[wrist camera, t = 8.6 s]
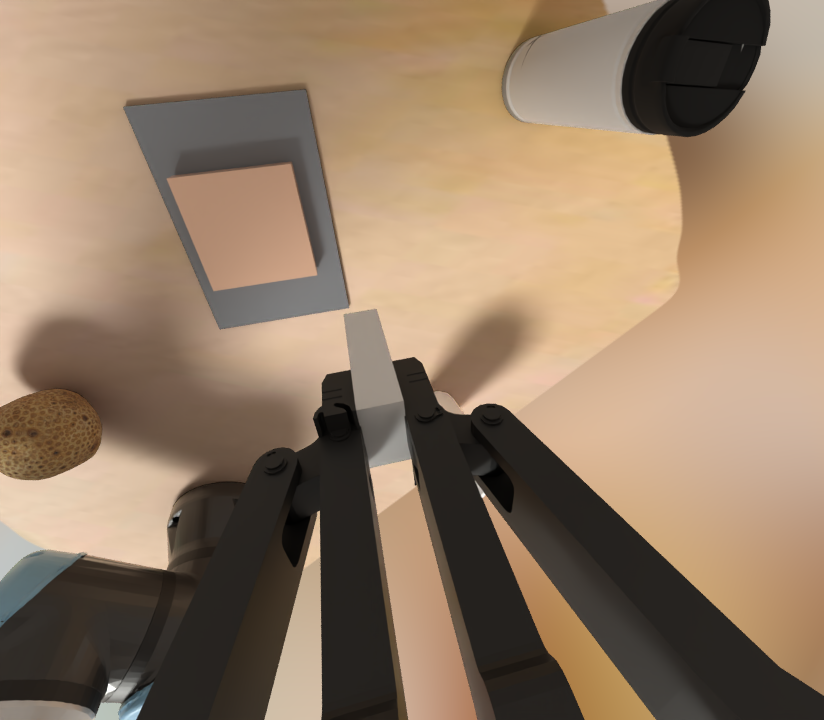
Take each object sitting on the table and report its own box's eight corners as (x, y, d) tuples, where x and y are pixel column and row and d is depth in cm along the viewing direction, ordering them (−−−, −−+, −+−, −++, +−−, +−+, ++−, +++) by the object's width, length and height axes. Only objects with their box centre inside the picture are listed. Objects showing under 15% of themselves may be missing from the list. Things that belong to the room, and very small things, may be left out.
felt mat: (220, 327, 41) (219, 329, 41) (125, 106, 30) (123, 106, 29) (348, 306, 43) (349, 307, 42) (305, 89, 31) (305, 89, 31)
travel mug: (503, 33, 32) (695, -38, 16) (573, 39, 33) (819, -21, 17) (492, 121, 35) (638, 137, 19) (555, 123, 37) (745, 140, 20)
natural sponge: (139, 416, 45) (100, 484, 37) (67, 440, 45) (13, 514, 37) (81, 357, 40) (21, 422, 32) (-1, 384, 40) (-82, 456, 32)
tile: (317, 268, 39) (217, 284, 38) (292, 161, 33) (173, 175, 32) (317, 275, 38) (213, 291, 37) (290, 163, 32) (166, 178, 31)
